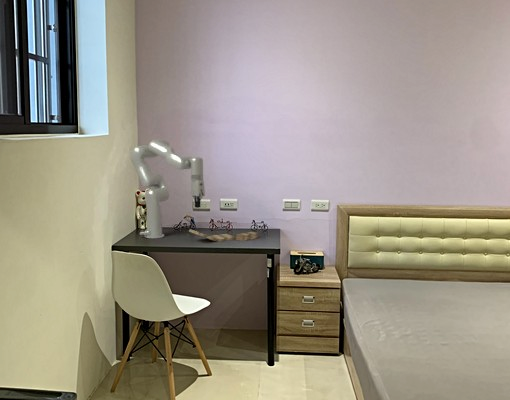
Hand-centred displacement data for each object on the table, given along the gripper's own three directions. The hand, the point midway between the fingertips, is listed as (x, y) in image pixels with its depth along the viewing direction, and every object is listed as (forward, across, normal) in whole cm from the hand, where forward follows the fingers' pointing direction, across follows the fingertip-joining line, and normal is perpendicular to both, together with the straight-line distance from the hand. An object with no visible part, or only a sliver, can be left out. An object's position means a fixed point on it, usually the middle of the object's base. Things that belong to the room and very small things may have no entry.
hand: (197, 207), depth 352 cm
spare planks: (+22, -7, -32) cm, 39 cm away
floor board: (+22, +1, -18) cm, 28 cm away
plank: (+19, +1, -3) cm, 19 cm away
